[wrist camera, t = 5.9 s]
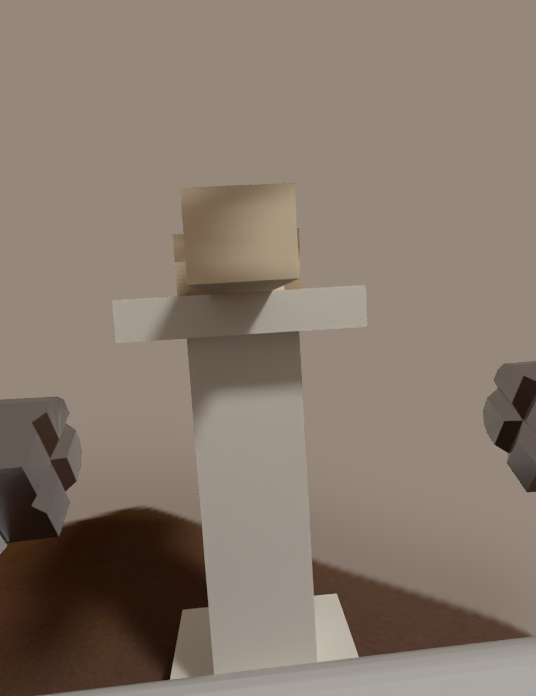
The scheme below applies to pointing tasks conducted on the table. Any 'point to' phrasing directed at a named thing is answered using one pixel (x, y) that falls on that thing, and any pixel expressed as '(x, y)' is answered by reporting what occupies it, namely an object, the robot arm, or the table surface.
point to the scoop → (237, 240)
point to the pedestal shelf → (251, 473)
